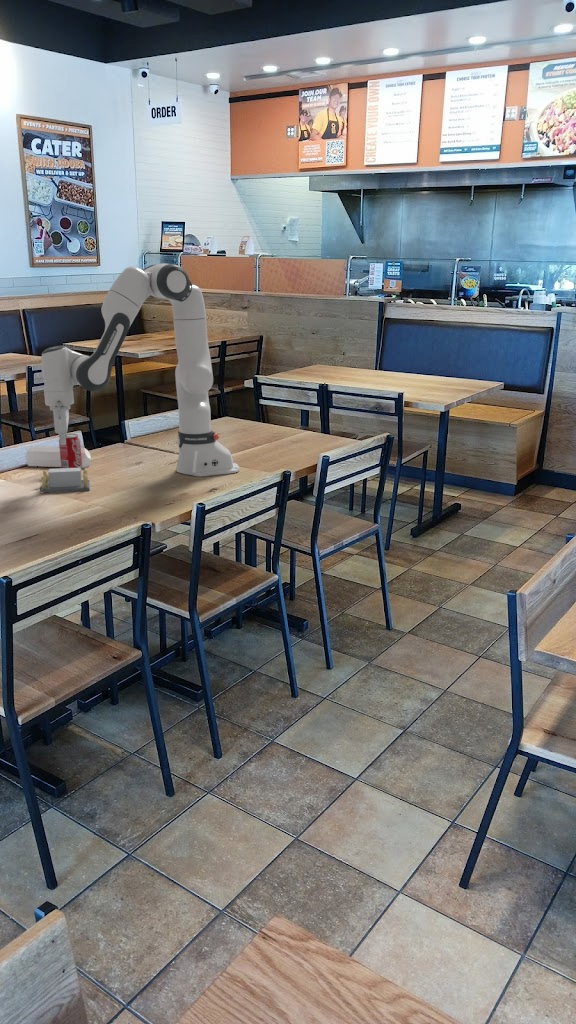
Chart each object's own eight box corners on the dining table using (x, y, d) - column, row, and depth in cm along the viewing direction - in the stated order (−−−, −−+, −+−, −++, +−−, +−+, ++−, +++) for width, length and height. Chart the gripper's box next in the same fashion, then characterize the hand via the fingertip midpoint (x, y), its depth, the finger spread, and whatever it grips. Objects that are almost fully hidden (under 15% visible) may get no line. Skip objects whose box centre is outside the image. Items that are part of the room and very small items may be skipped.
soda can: (76, 474, 271) (74, 438, 267) (57, 473, 273) (54, 436, 269) (85, 469, 278) (83, 433, 274) (67, 468, 279) (64, 432, 275)
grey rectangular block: (81, 482, 259) (80, 467, 257) (81, 485, 255) (80, 471, 253) (50, 483, 257) (48, 468, 255) (49, 487, 253) (48, 472, 251)
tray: (89, 482, 262) (88, 468, 261) (89, 490, 253) (88, 475, 252) (42, 484, 259) (41, 470, 257) (41, 493, 250) (39, 477, 248)
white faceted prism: (19, 458, 277) (86, 460, 276) (25, 444, 282) (90, 446, 281) (24, 473, 283) (90, 474, 282) (30, 459, 288) (94, 461, 286)
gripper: (68, 403, 238) (73, 448, 242) (70, 392, 257) (74, 434, 261) (47, 405, 237) (52, 449, 241) (50, 393, 256) (54, 435, 260)
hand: (63, 441), depth 251 cm, fingers open, 8 cm apart
